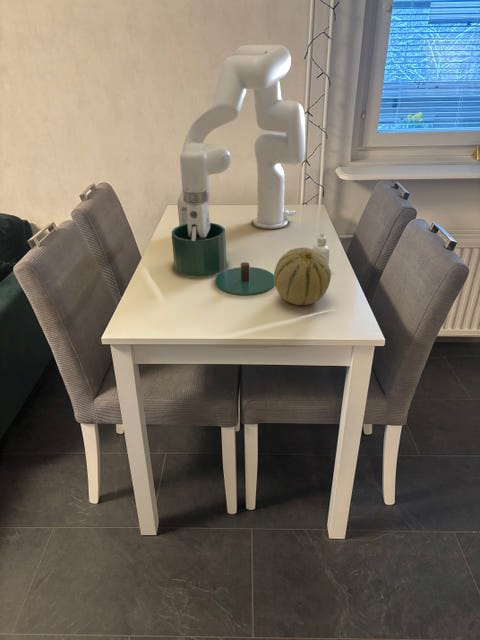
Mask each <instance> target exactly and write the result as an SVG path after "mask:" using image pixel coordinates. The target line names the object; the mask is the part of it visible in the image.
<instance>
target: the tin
mask: <svg viewBox="0 0 480 640" xmlns="http://www.w3.org/2000/svg"><path fill="white" fill-rule="evenodd" d="M191 239H192V238H190V237H189V235H188V225H187V224H184V225H180V226H179V225H178V226H176V227H174V228H173V229H172V230H171V243H172V253H173V263H174V264H173V265H174V269H175V271H176V272H177V273H179V274H180V275H184V276H187V277H195V278H196V277H208V276H213V275H216V274H220V273H222V272H223V271H225V270H226V267H227V246H226V245H227V244H226V243H227V242H226V241H227V240H226V239H227V238H226V228H225V227H224V226H222V225H220V224H218V223H214V222H210V230H209V232H208V234H207V236H206V239H205V240H191Z"/></svg>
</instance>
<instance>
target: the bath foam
mask: <svg viewBox="0 0 480 640" xmlns="http://www.w3.org/2000/svg"><path fill="white" fill-rule="evenodd" d="M177 210H178V211H177V213H178V226H180V225H184V224H187V204H185V203H184V202H183V191H182V190H181V192H180V194H179V195H178V199H177Z"/></svg>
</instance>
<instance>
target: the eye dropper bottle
mask: <svg viewBox="0 0 480 640" xmlns="http://www.w3.org/2000/svg"><path fill="white" fill-rule="evenodd" d="M312 249H314V250H315V251H317V252H319V253H320V254H321V255H323V257H324V258H325V259H326V262H327V264H328V265H329V262H330V249H329V247H328V245H327V237H326V236H325V233H324V232H320V235H319V236H317V241H316V243H315V244H314V245H313V246H312Z"/></svg>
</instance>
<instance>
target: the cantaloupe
mask: <svg viewBox="0 0 480 640" xmlns="http://www.w3.org/2000/svg"><path fill="white" fill-rule="evenodd" d="M331 273H332V272H331V269H330V265H329V264H327V262H326V259H325V258H324V257H323V255H321V254H320V253H319V252H317V251H315V250H314V249H313V248H311V247H294V248H291V249H290V250H287V252H285V253H283V254H282V256H281V257H280V258H279V259H278V261H277V263H276V265H275V268H274V272H273V275H274V283H275V286H274V287H275V288H276V291H277V292H278V294H279V296H280V297H281V298H282V299H283V300H285V302H288V303H290V304H293V305H296V306H307V305H312V304H314V303H316V302H318V301H319V300H321V299H322V297H324V296H325V294H326V292H327V291H328V288H329V286H330V283H331V279H332V278H331V277H332V275H331Z"/></svg>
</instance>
